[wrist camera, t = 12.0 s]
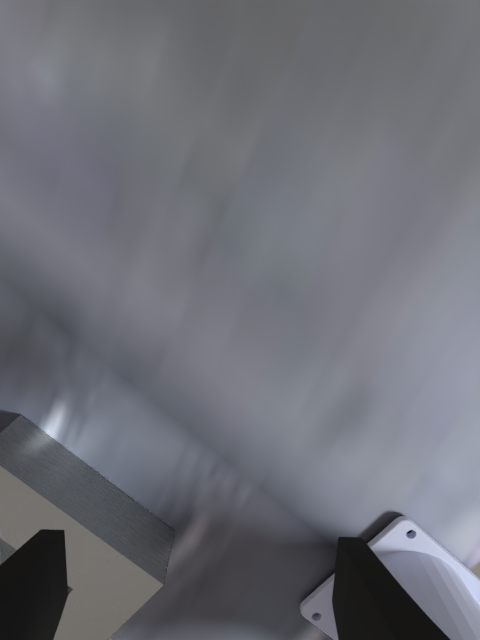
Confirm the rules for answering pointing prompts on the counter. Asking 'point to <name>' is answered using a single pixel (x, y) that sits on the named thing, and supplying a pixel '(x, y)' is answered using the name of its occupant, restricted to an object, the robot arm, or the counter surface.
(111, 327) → the counter surface
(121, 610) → the block
